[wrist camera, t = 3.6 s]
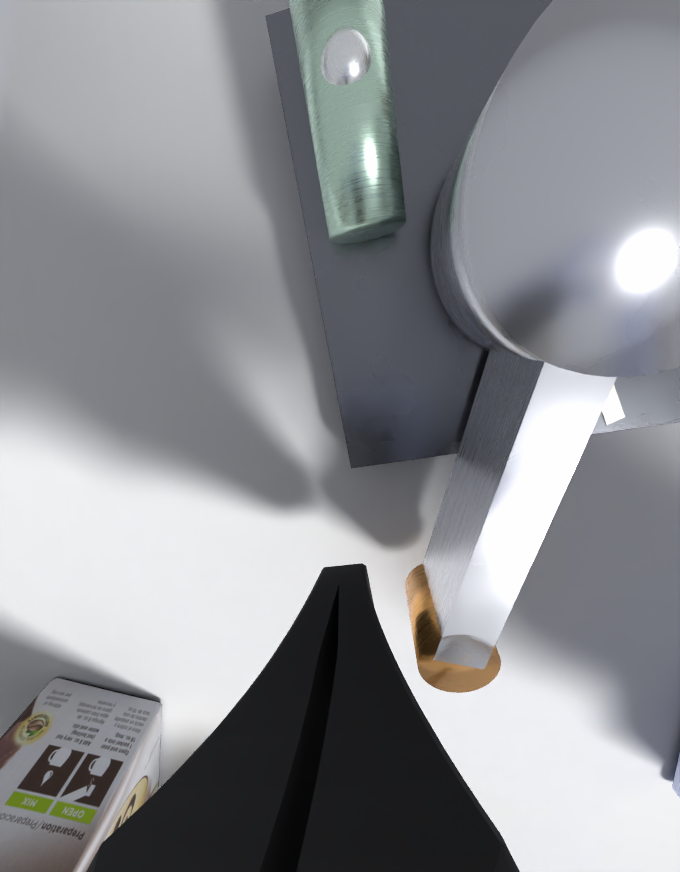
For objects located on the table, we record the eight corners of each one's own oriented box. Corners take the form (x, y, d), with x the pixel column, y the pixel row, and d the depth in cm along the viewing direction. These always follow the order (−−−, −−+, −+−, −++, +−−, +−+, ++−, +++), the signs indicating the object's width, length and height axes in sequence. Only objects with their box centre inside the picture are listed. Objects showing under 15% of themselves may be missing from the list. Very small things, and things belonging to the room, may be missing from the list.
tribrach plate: (717, 397, 10) (881, 430, 7) (352, 451, 12) (349, 499, 9) (808, -92, 7) (1199, -457, 4) (281, 67, 9) (230, -96, 5)
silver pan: (471, 46, 7) (549, -151, 4) (753, 95, 7) (1034, -69, 4) (347, 594, 12) (343, 679, 9) (509, 624, 12) (556, 719, 9)
